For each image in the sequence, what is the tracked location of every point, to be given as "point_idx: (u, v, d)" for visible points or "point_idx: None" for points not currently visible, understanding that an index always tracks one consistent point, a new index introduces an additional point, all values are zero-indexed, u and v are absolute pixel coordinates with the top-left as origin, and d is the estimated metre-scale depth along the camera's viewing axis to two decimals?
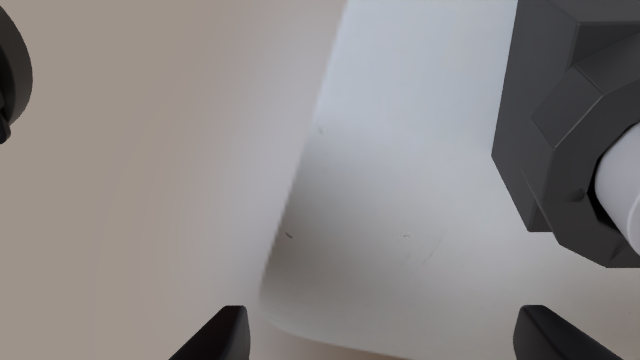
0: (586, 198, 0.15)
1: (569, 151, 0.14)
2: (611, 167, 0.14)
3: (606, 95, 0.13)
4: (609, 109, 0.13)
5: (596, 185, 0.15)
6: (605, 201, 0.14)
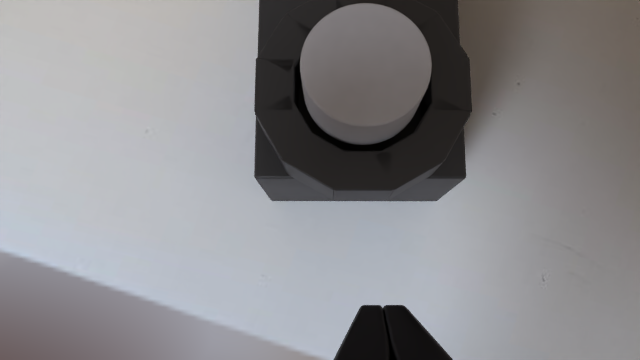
0: (387, 149, 0.16)
1: (337, 176, 0.16)
2: (349, 138, 0.16)
3: (283, 158, 0.16)
4: (296, 152, 0.16)
5: (376, 142, 0.16)
6: (383, 135, 0.16)
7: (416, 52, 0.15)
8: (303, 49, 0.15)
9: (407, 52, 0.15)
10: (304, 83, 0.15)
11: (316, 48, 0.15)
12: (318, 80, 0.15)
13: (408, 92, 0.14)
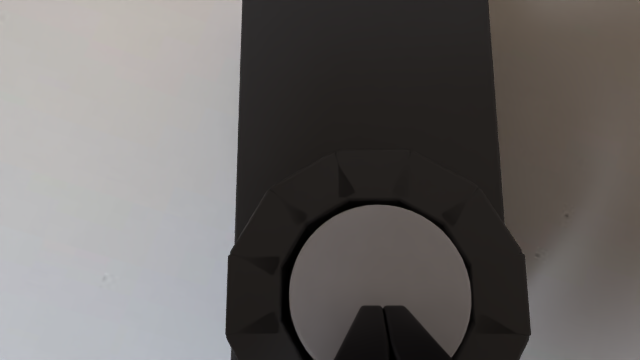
0: None
1: None
2: None
3: None
4: None
5: None
6: None
7: (450, 279, 0.11)
8: (293, 273, 0.11)
9: (437, 279, 0.11)
10: (295, 324, 0.11)
11: (311, 272, 0.11)
12: (314, 321, 0.11)
13: (440, 339, 0.10)
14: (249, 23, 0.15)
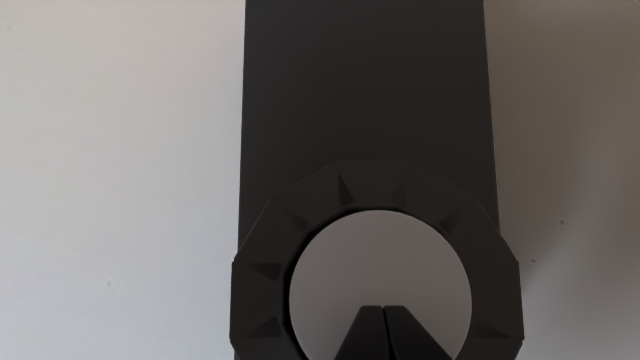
0: None
1: None
2: None
3: None
4: None
5: None
6: None
7: (450, 284, 0.11)
8: (294, 279, 0.11)
9: (437, 285, 0.11)
10: (295, 330, 0.11)
11: (311, 278, 0.11)
12: (314, 326, 0.11)
13: (440, 344, 0.10)
14: (251, 36, 0.16)
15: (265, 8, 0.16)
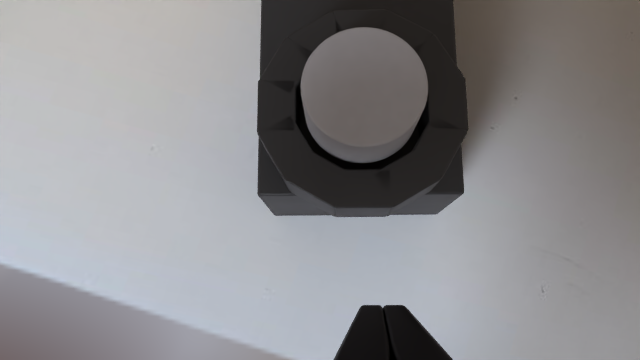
0: (386, 168, 0.16)
1: (337, 194, 0.16)
2: (349, 157, 0.16)
3: (286, 177, 0.16)
4: (298, 172, 0.16)
5: (375, 160, 0.17)
6: (382, 154, 0.16)
7: (413, 74, 0.15)
8: (303, 72, 0.15)
9: (404, 74, 0.15)
10: (305, 105, 0.15)
11: (316, 71, 0.15)
12: (318, 102, 0.15)
13: (405, 113, 0.15)
14: None
15: None
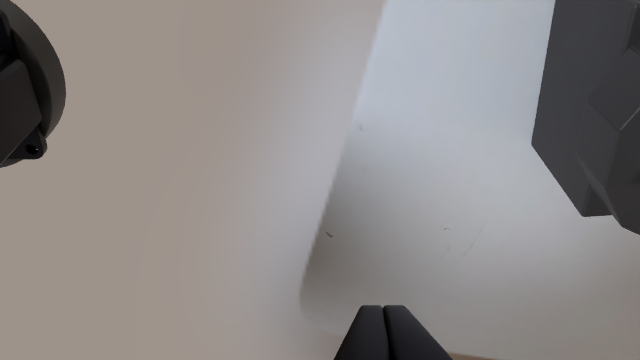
0: None
1: (634, 133, 0.14)
2: None
3: None
4: None
5: None
6: None
7: None
8: None
9: None
10: None
11: None
12: None
13: None
14: None
15: None
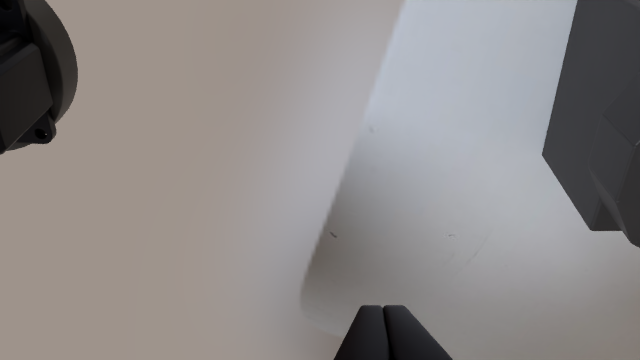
0: None
1: None
2: None
3: None
4: None
5: None
6: None
7: None
8: None
9: None
10: None
11: None
12: None
13: None
14: None
15: None
